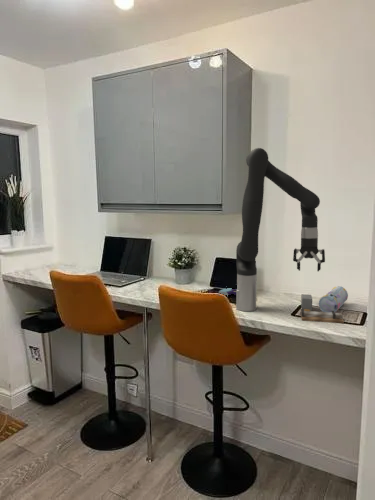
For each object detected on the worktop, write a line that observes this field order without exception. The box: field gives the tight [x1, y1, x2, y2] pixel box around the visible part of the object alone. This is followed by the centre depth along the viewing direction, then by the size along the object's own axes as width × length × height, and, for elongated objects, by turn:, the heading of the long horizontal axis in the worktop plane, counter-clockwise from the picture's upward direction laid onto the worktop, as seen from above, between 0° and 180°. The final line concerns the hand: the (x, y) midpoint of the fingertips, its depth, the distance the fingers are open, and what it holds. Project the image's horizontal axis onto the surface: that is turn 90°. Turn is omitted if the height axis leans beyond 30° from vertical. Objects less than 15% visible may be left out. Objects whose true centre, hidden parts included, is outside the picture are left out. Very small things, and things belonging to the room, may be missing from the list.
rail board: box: [300, 308, 345, 324], centre depth 160 cm, size 17×9×3 cm, turn 76°
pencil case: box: [318, 285, 349, 313], centre depth 174 cm, size 21×9×10 cm, turn 143°
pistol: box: [218, 288, 237, 297], centre depth 201 cm, size 4×16×15 cm
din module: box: [300, 293, 313, 311], centre depth 173 cm, size 4×9×6 cm, turn 166°
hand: (308, 270), depth 173 cm, fingers open, 8 cm apart
